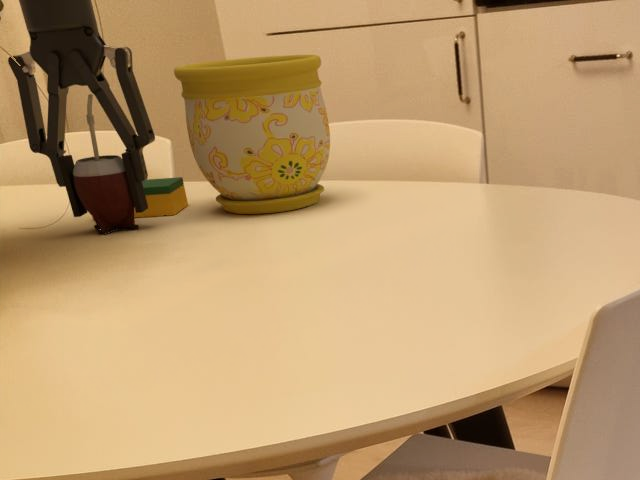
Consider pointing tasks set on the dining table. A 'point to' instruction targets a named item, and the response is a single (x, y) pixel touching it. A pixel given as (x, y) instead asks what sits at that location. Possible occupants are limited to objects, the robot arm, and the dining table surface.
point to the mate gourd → (104, 186)
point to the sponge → (163, 197)
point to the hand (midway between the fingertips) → (111, 212)
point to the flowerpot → (258, 130)
